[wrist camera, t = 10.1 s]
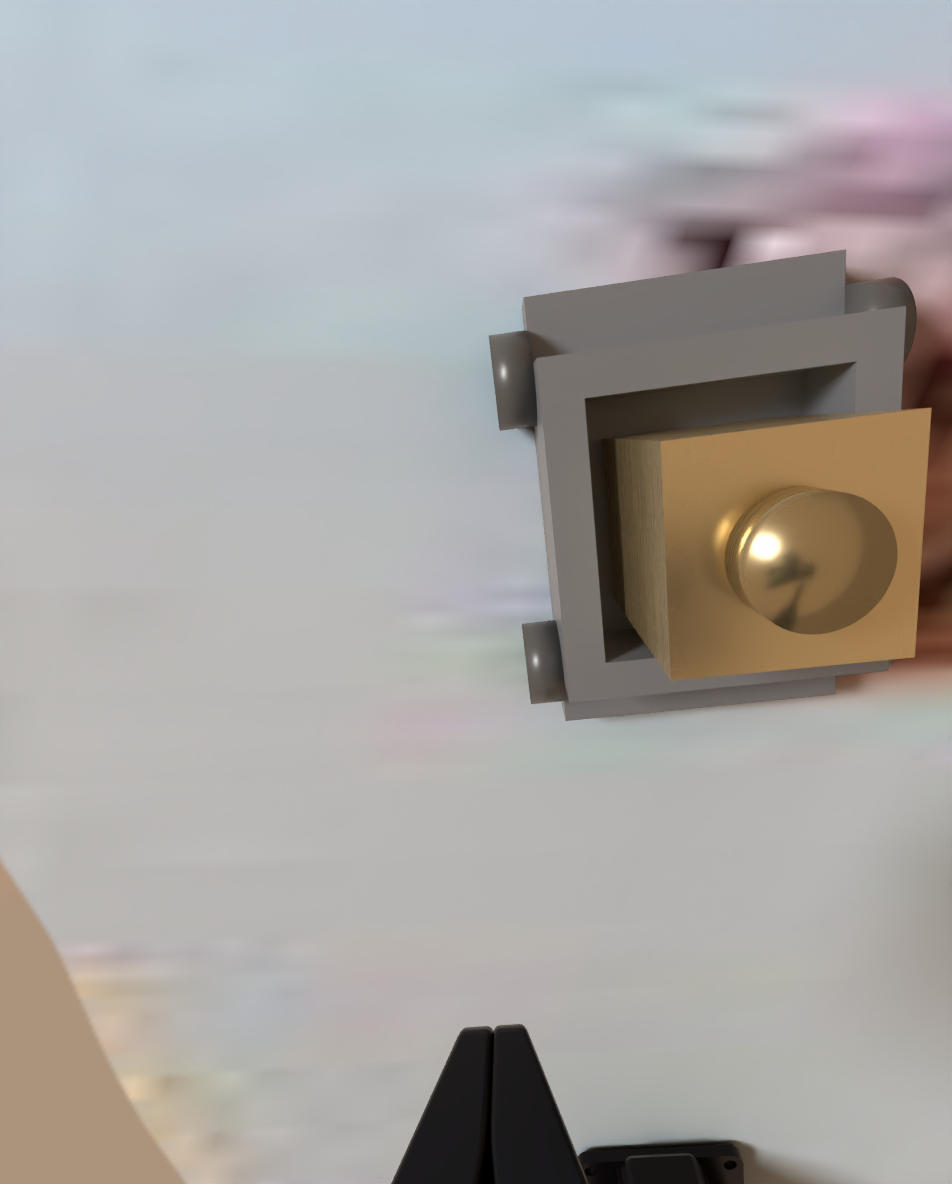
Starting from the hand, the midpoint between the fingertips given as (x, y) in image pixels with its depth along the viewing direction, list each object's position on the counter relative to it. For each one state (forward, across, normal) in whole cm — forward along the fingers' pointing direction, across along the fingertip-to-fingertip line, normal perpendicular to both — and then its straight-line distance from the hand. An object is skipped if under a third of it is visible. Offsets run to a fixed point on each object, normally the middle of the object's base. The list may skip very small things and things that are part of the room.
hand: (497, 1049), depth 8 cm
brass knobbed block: (+11, -6, -5) cm, 13 cm away
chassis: (+12, -6, -5) cm, 14 cm away
